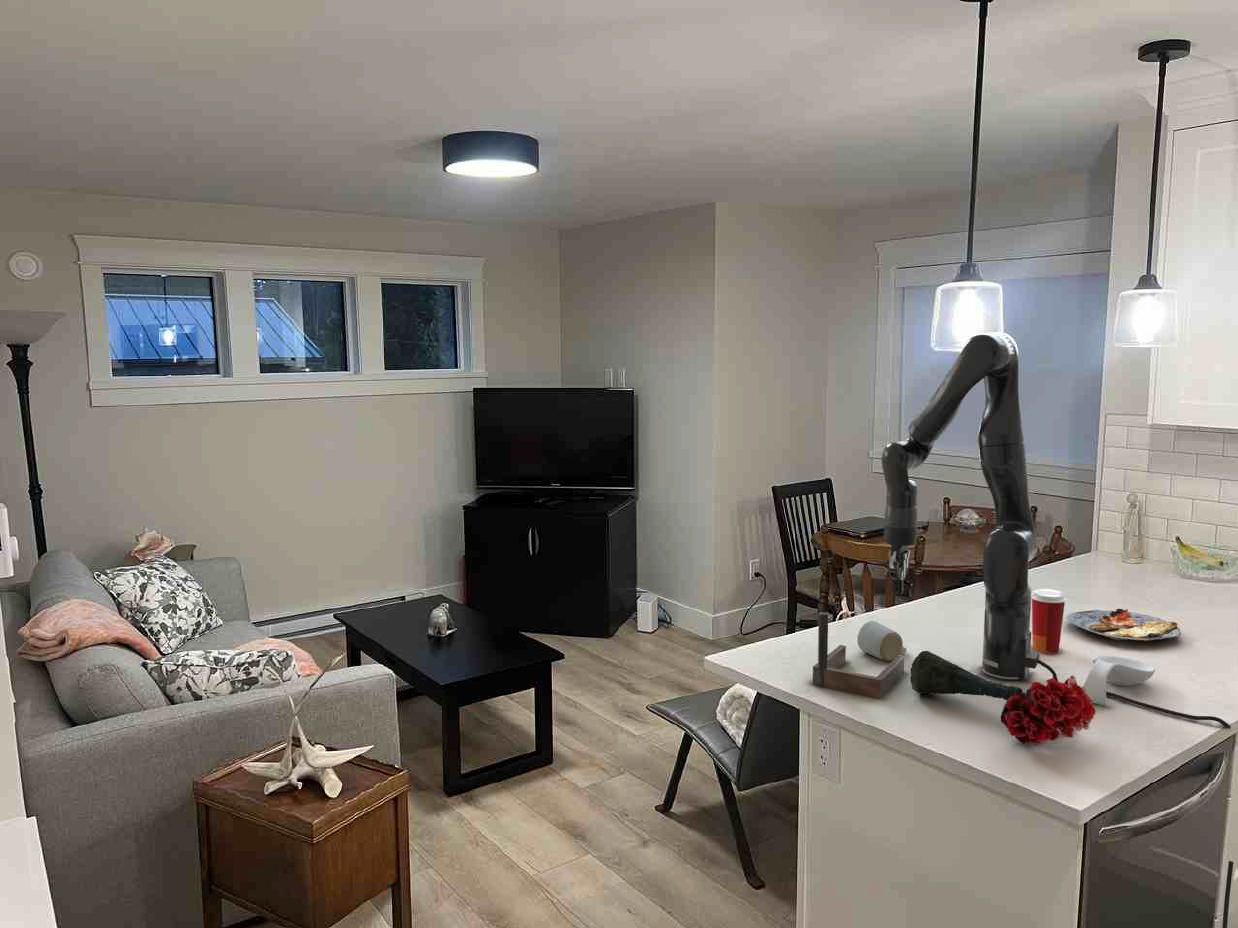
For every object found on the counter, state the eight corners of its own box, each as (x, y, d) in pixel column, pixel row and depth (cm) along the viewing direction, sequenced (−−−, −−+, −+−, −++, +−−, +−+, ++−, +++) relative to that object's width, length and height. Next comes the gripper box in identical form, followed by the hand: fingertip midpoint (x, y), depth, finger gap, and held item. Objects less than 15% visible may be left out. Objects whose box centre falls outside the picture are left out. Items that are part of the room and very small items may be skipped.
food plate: (1122, 613, 241) (1123, 600, 240) (1202, 640, 219) (1203, 626, 218) (1047, 623, 233) (1047, 610, 233) (1122, 652, 211) (1123, 638, 211)
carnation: (918, 729, 190) (1093, 780, 163) (879, 691, 179) (1058, 739, 153) (943, 662, 195) (1116, 701, 168) (906, 621, 185) (1084, 656, 158)
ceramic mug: (881, 665, 205) (882, 632, 204) (856, 654, 213) (857, 622, 212) (914, 657, 210) (916, 625, 209) (889, 647, 218) (890, 616, 216)
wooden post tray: (903, 673, 200) (906, 604, 198) (879, 699, 186) (881, 624, 184) (839, 661, 208) (841, 594, 206) (812, 684, 195) (813, 613, 192)
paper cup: (1063, 646, 216) (1066, 590, 214) (1063, 657, 209) (1067, 598, 207) (1027, 642, 219) (1030, 586, 217) (1026, 652, 212) (1029, 595, 210)
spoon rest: (1102, 666, 203) (1104, 635, 202) (1160, 680, 195) (1163, 648, 193) (1063, 696, 186) (1065, 663, 185) (1125, 713, 178) (1128, 678, 177)
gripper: (908, 530, 208) (905, 603, 211) (924, 520, 219) (921, 589, 221) (876, 526, 212) (873, 597, 215) (893, 517, 223) (890, 584, 226)
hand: (897, 593), depth 218 cm, fingers closed
